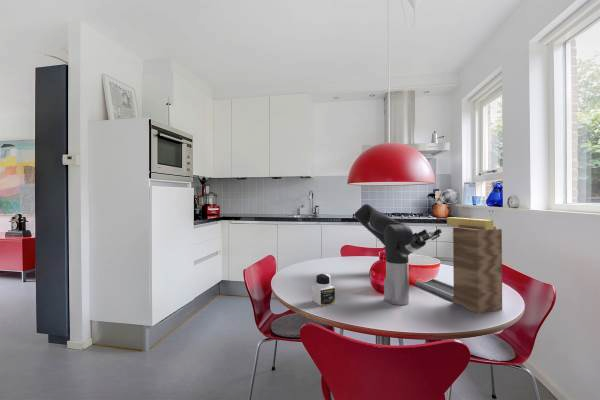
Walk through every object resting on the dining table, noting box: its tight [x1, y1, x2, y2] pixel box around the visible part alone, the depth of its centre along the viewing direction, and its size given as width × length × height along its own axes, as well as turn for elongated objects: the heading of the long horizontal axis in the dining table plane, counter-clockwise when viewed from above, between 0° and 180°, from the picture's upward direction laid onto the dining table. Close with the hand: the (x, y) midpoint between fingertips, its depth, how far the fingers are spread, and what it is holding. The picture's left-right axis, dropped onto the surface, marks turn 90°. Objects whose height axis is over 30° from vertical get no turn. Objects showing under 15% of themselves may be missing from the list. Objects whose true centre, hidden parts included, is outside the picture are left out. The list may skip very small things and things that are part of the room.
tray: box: [414, 278, 454, 302], centre depth 137 cm, size 11×25×2 cm, turn 15°
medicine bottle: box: [312, 273, 336, 307], centre depth 123 cm, size 7×7×12 cm
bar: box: [446, 216, 494, 230], centre depth 121 cm, size 4×20×4 cm, turn 15°
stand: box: [452, 225, 503, 314], centre depth 118 cm, size 12×12×33 cm
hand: (433, 230), depth 142 cm, fingers open, 8 cm apart
